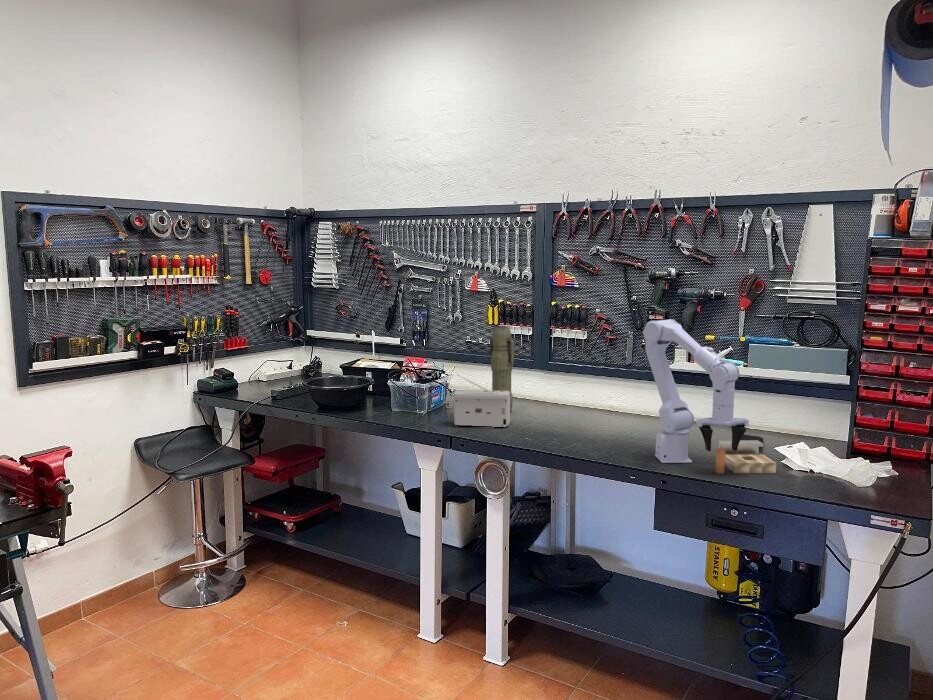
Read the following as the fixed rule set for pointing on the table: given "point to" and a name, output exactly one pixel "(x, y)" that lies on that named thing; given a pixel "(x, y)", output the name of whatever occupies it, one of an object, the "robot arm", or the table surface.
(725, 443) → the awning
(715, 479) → the table surface
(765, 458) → the socket block
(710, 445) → the robot arm
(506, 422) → the stereo radio cassette player
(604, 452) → the table surface
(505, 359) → the olive green jumpsuit
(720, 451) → the peg
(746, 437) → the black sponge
